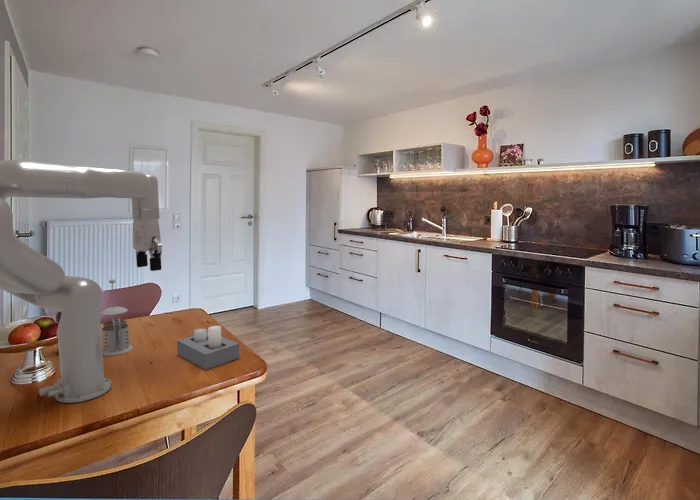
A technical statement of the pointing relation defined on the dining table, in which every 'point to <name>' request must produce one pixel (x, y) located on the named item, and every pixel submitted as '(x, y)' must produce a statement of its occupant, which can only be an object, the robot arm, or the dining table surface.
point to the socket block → (206, 350)
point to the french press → (115, 331)
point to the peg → (214, 337)
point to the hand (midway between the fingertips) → (148, 268)
